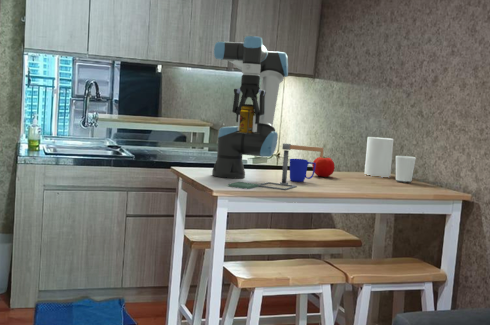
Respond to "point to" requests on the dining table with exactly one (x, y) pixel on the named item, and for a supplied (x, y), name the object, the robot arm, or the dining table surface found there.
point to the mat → (243, 185)
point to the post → (285, 167)
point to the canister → (379, 156)
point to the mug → (299, 169)
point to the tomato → (323, 166)
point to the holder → (276, 187)
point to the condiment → (246, 119)
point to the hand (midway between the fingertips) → (247, 131)
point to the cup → (404, 168)
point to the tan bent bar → (303, 148)
